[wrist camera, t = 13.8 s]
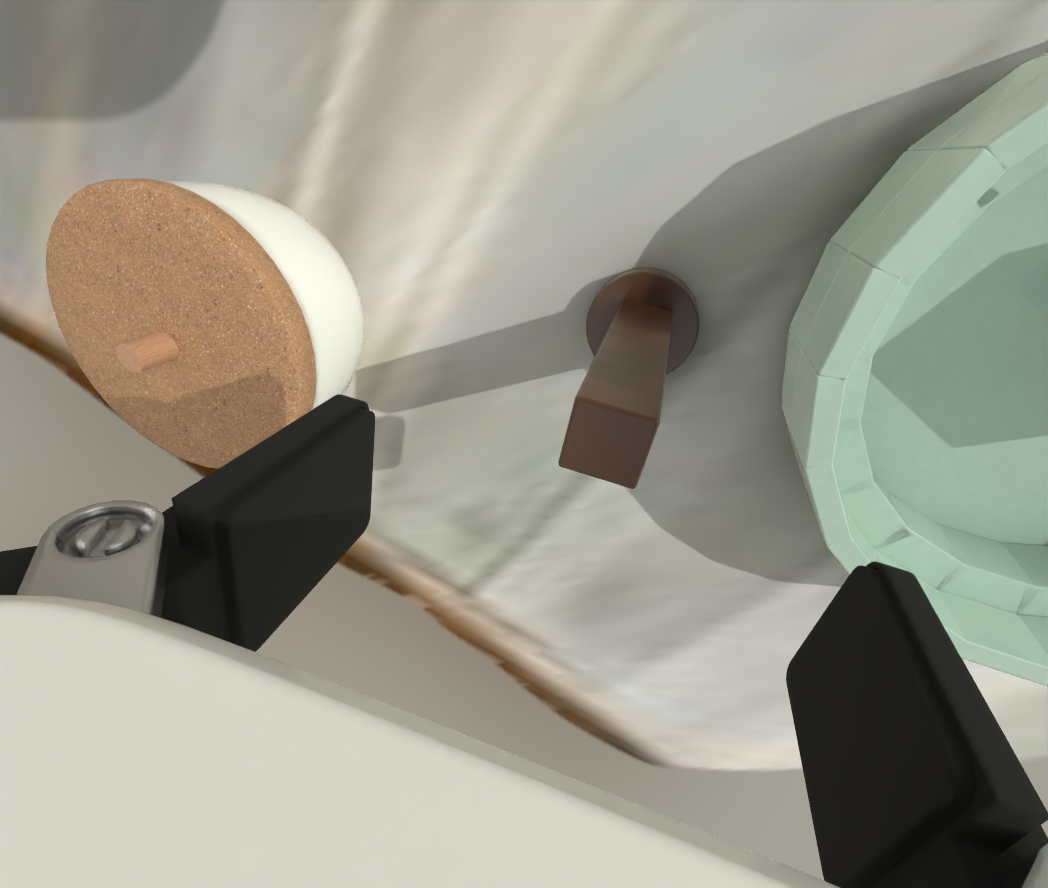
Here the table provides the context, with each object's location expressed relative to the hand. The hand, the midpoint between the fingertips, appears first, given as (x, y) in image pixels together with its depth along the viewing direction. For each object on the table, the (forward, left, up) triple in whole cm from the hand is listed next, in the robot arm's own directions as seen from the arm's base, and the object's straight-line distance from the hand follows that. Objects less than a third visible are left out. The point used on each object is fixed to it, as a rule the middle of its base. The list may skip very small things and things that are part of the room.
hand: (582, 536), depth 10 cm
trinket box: (-16, -3, -14) cm, 22 cm away
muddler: (0, 0, -14) cm, 14 cm away
